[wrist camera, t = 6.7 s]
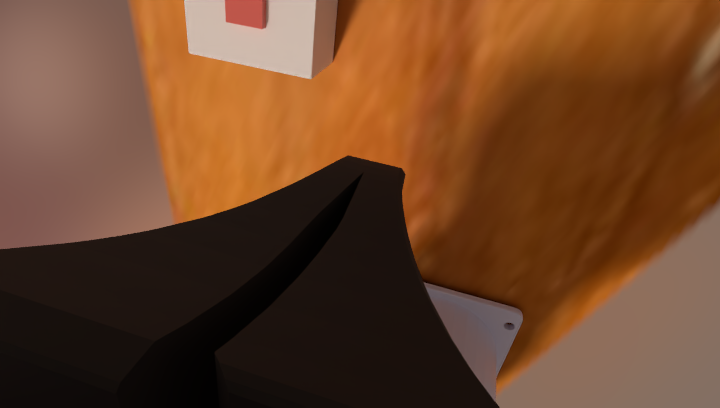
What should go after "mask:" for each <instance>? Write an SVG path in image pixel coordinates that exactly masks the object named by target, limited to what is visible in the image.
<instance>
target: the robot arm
mask: <svg viewBox="0 0 720 408" xmlns="http://www.w3.org/2000/svg"><path fill="white" fill-rule="evenodd" d="M404 179H405V173H404V171H403V170H402V168H398V167H394V166H390V165H386V164H382V163H378V162H373V161H369V160H365V159H361V158H357V157H352V156H346V157H344V158H342V159H340V160H338V161H336V162H334V163H332V164H330V165H328V166H327V167H325V168H323V169H321V170H319V171H317V172H315V173H313V174H311V175H309V176H307V177H305V178H303V179H301V180H299V181H297V182H295V183H293V184H291V185H289V186H287V187H284V188H282V189H280V190H278V191H275V192H273V193H271V194H268V195H266V196H264V197H262V198H259V199H257V200H254V201H252V202H249V203H247V204H244V205H241V206H238V207H236V208H233V209H229V210H226V211H223V212H220V213H217V214H214V215H211V216H207V217H204V218H200V219H196V220H192V221H188V222H183V223H179V224H175V225H171V226H167V227H163V228H159V229H154V230H149V231H144V232H140V233H133V234H128V235H122V236H116V237H109V238H103V239H96V240H89V241H81V242H74V243H65V244H54V245H43V246H32V247H21V248H10V249H0V408H499V406H498V405H497V404H496V377H497V375H498V373H499V371H500V369H501V367H502V364H503V362H504V360H505V358H506V356H507V354H508V352H509V350H510V347H511V345H512V343H513V341H514V339H515V337H516V335H517V332H518V330H519V328H520V326H521V324H522V322H523V314H522V312H521V311H520V310H519V309H517V308H515V307H511V306H508V305H504V304H500V303H497V302H493V301H490V300H486V299H482V298H479V297H475V296H472V295H468V294H464V293H461V292H457V291H454V290H450V289H446V288H443V287H439V286H436V285H432V284H428V283H425V282H423V280H422V278H421V275H420V272H419V270H418V267H417V264H416V261H415V258H414V255H413V252H412V248H411V245H410V241H409V237H408V233H407V228H406V224H405V217H404V211H403V202H402V189H403V184H404ZM506 323H512V324H511V325H509V324H506Z"/></svg>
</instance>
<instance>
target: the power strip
mask: <svg viewBox="0 0 720 408" xmlns="http://www.w3.org/2000/svg"><path fill="white" fill-rule="evenodd" d="M184 3H185V15H186V26H187V37H188V48H189V53H191V54H195V55H200V56H205V57H209V58H214V59H219V60H223V61H228V62H233V63H237V64H242V65H247V66H251V67H256V68H261V69H265V70H270V71H275V72H279V73H284V74H289V75H294V76H298V77H303V78H308V79H312V78H313V77H315V76H316V75H317V74H318V73H320V72H321V71H322V70H324V69H325V68H326V67H327V66H329V65H330V64H331V63H332V62H333V53H334V41H335V30H336V18H337V7H338V0H184Z"/></svg>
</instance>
